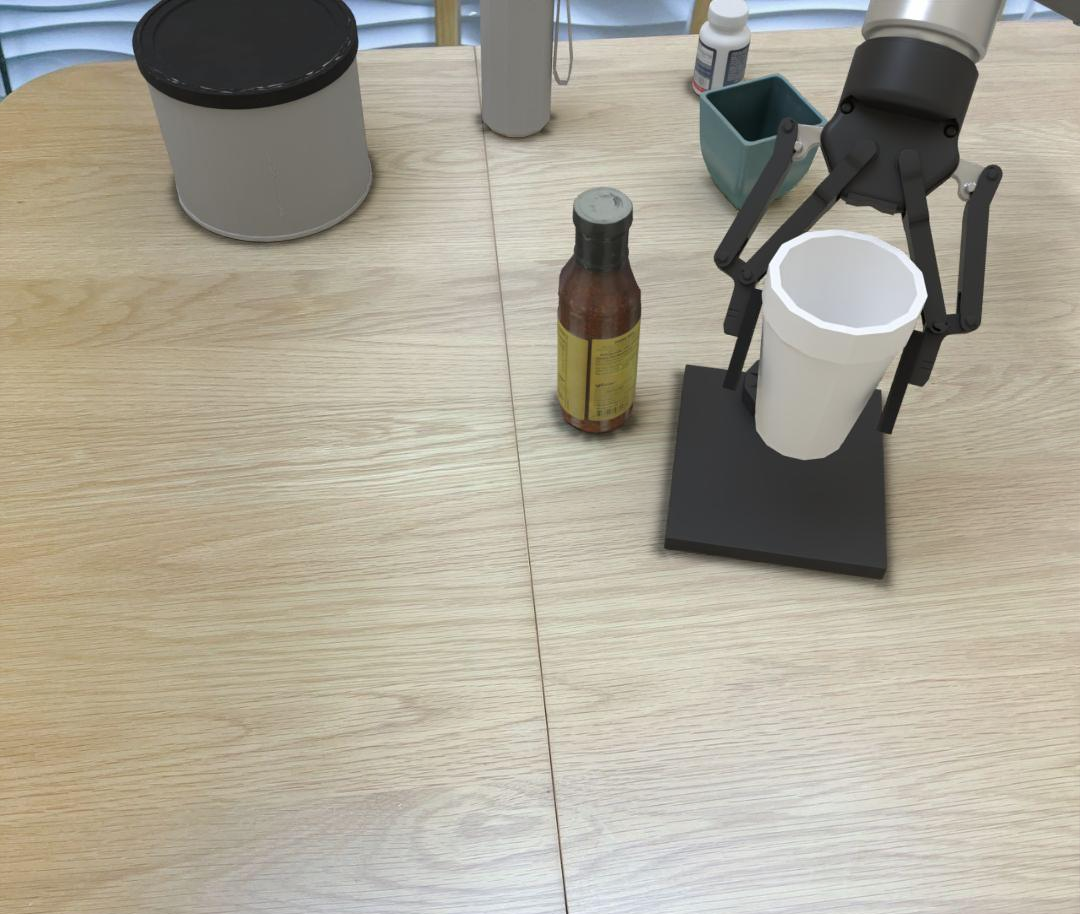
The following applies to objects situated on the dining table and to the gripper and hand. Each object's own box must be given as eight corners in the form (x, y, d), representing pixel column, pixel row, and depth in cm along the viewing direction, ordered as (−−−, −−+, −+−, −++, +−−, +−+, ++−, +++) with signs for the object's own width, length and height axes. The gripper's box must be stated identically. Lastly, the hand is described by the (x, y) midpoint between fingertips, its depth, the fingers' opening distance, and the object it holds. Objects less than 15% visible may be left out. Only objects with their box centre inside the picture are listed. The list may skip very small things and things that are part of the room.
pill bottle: (743, 77, 118) (758, -4, 110) (739, 105, 114) (755, 23, 107) (693, 72, 118) (705, -10, 111) (689, 99, 115) (701, 17, 108)
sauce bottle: (641, 390, 90) (669, 186, 74) (621, 445, 87) (646, 243, 70) (565, 372, 91) (577, 167, 75) (542, 425, 88) (550, 222, 72)
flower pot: (729, 229, 103) (746, 145, 95) (684, 175, 107) (697, 91, 100) (809, 206, 105) (831, 122, 98) (761, 155, 110) (779, 71, 102)
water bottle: (471, 137, 110) (463, -132, 90) (490, 94, 115) (487, -172, 94) (560, 151, 109) (572, -118, 89) (576, 107, 114) (591, -158, 93)
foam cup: (843, 370, 79) (894, 223, 69) (888, 468, 74) (951, 325, 63) (716, 384, 78) (749, 237, 68) (753, 484, 73) (795, 341, 62)
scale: (876, 394, 90) (886, 368, 88) (882, 579, 80) (894, 556, 77) (684, 369, 92) (688, 343, 89) (663, 548, 81) (668, 524, 78)
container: (237, 271, 98) (198, 120, 85) (140, 166, 106) (93, 16, 94) (412, 192, 105) (399, 43, 92) (308, 101, 113) (284, -47, 101)
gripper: (1090, 110, 68) (969, 456, 72) (745, 35, 72) (649, 366, 76) (1125, 75, 61) (988, 462, 65) (739, -6, 65) (633, 362, 69)
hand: (805, 410), depth 71 cm, fingers closed on foam cup, 9 cm apart
